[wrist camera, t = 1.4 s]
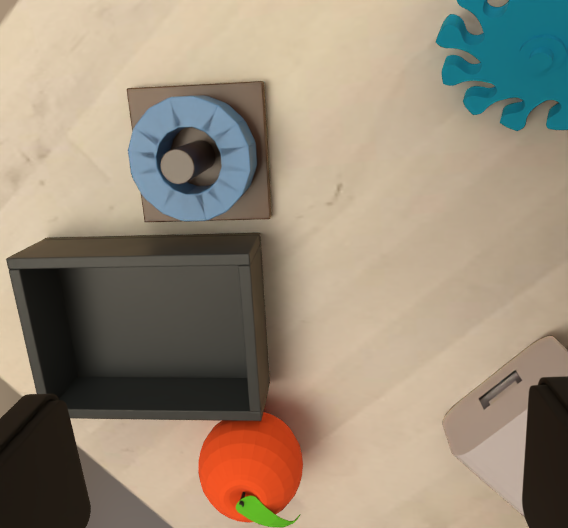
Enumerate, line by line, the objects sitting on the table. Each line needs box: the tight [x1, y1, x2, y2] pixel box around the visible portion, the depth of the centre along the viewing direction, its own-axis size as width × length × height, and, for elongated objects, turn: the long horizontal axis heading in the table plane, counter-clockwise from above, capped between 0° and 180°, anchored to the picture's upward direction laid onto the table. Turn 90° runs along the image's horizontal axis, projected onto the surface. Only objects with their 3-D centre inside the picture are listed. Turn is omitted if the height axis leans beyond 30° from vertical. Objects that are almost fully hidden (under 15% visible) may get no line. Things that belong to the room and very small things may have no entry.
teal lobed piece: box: [436, 0, 568, 131], centre depth 26 cm, size 11×6×10 cm
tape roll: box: [128, 95, 257, 221], centre depth 30 cm, size 7×7×3 cm
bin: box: [6, 233, 270, 421], centre depth 33 cm, size 11×14×4 cm
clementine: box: [199, 412, 303, 527], centre depth 34 cm, size 8×7×7 cm
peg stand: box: [127, 81, 272, 222], centre depth 29 cm, size 8×8×6 cm
